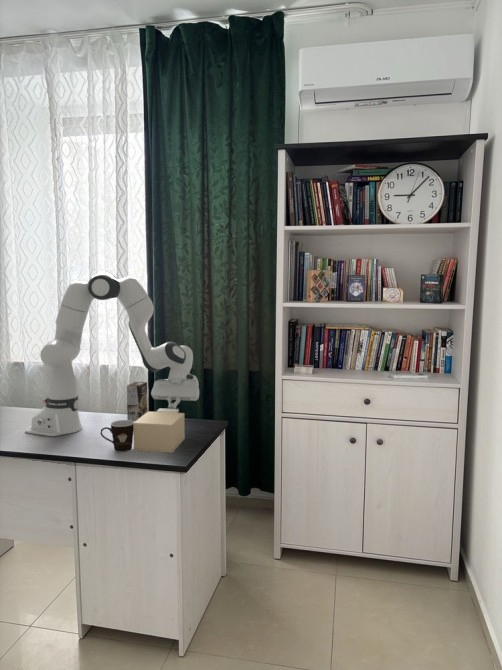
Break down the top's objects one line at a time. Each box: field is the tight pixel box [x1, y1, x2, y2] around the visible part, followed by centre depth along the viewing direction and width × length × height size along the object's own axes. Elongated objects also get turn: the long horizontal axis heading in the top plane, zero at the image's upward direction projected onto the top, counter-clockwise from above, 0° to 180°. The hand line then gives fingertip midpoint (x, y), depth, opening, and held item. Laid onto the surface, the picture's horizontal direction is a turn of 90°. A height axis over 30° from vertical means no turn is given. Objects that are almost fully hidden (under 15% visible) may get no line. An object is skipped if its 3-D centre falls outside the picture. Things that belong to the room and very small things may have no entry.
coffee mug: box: [100, 419, 135, 453], centre depth 192 cm, size 12×9×10 cm
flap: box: [133, 407, 185, 426], centre depth 198 cm, size 15×20×1 cm
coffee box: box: [126, 381, 148, 422], centre depth 232 cm, size 9×6×16 cm
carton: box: [133, 414, 186, 453], centre depth 196 cm, size 15×16×10 cm
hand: (171, 407), depth 211 cm, fingers closed
